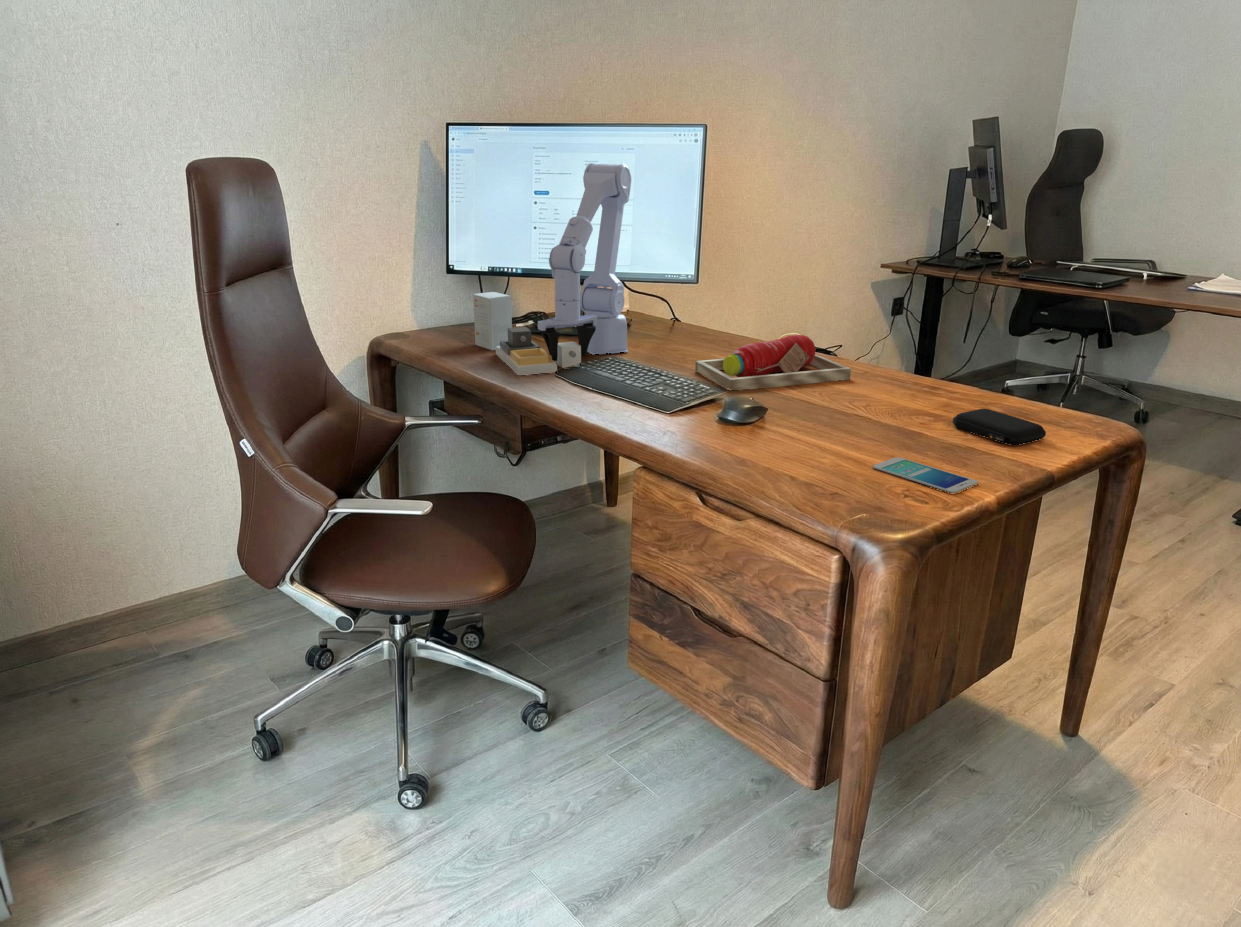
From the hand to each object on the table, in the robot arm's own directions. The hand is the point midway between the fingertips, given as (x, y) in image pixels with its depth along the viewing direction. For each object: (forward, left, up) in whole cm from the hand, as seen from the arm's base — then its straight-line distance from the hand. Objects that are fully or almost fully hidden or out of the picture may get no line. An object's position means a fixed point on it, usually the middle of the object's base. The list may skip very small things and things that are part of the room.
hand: (568, 358), depth 211 cm
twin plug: (+9, -10, 0) cm, 13 cm away
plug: (0, 0, -2) cm, 2 cm away
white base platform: (+9, -5, -2) cm, 10 cm away
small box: (+12, -25, -2) cm, 28 cm away
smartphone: (-32, +88, -2) cm, 93 cm away
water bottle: (-40, +24, -2) cm, 47 cm away
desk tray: (-40, +24, -2) cm, 47 cm away
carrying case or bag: (-58, +74, -2) cm, 94 cm away
